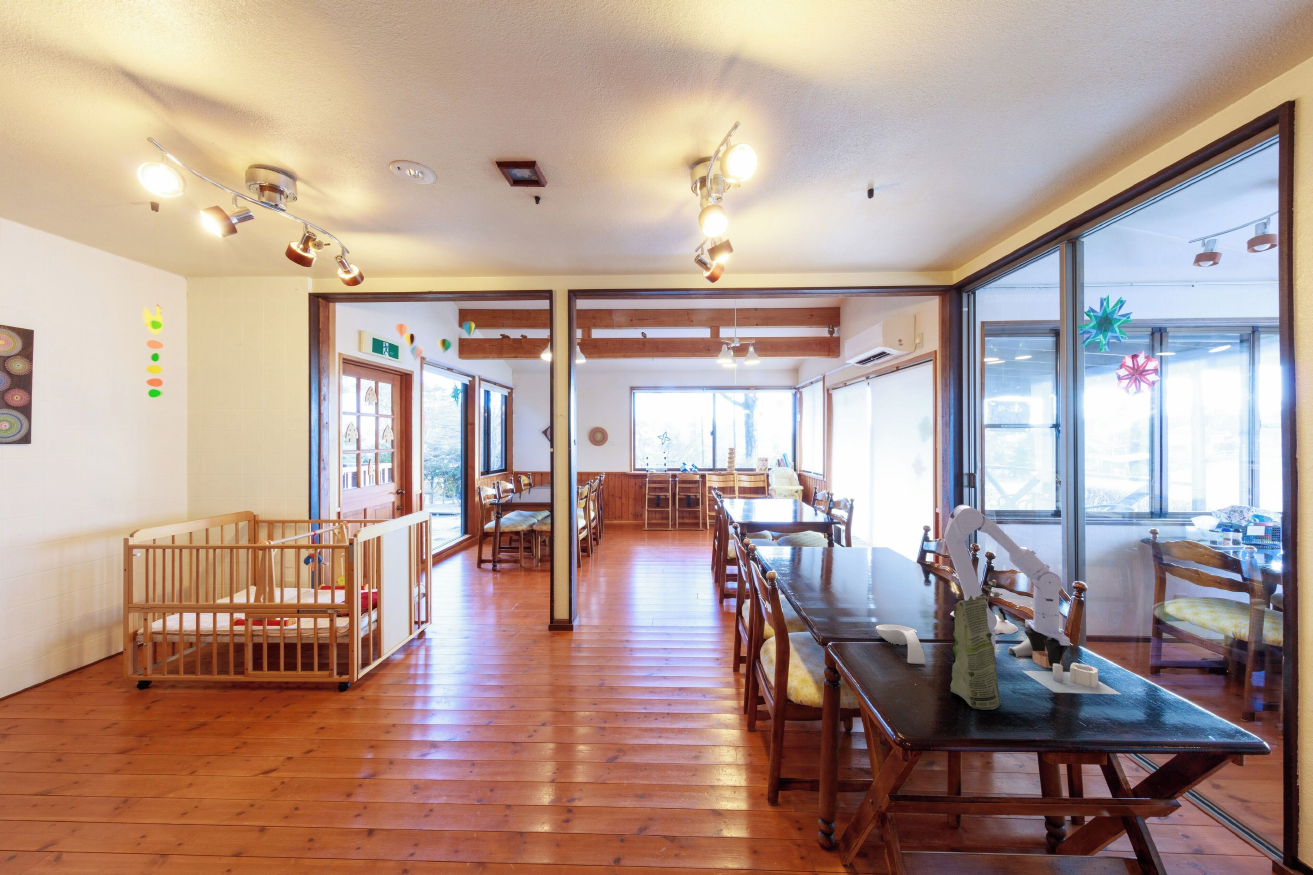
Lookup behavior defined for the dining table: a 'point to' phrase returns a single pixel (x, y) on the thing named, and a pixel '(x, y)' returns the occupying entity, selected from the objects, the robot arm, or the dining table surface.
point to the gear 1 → (1041, 658)
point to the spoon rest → (903, 640)
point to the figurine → (999, 614)
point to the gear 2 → (1084, 675)
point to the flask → (1023, 649)
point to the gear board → (1067, 681)
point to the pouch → (974, 655)
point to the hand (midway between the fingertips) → (1046, 661)
